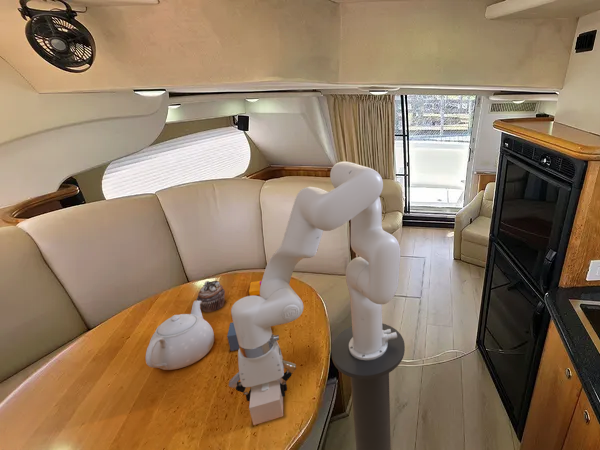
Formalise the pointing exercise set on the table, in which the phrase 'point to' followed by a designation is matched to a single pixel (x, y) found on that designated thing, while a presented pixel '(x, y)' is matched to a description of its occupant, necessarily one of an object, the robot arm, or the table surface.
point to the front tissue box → (266, 402)
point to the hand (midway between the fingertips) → (268, 396)
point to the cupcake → (211, 296)
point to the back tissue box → (232, 338)
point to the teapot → (180, 341)
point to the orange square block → (255, 288)
